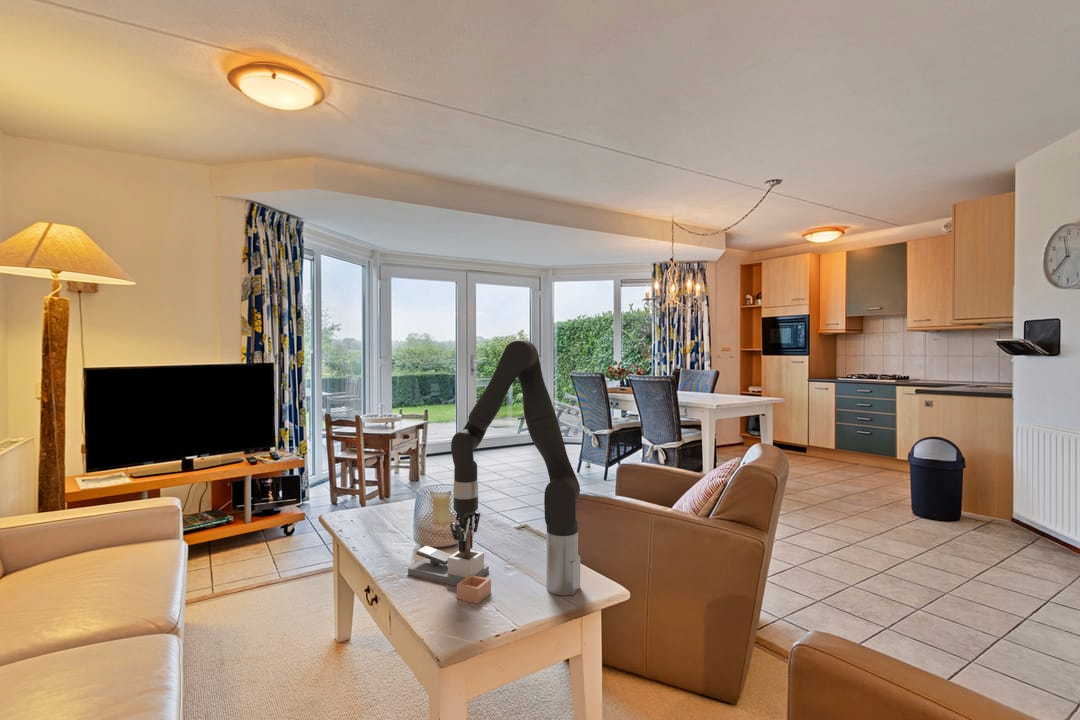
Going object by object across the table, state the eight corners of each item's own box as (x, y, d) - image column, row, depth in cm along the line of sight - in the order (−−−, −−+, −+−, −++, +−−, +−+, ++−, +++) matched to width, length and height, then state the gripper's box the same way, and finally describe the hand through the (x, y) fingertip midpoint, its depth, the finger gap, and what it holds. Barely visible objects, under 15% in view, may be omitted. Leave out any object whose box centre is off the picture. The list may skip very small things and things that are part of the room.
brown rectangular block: (472, 563, 162) (472, 528, 162) (467, 567, 159) (466, 531, 159) (464, 562, 163) (464, 527, 163) (458, 565, 161) (458, 530, 160)
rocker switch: (454, 559, 166) (454, 555, 166) (444, 565, 162) (445, 561, 161) (426, 548, 171) (426, 545, 170) (416, 554, 166) (416, 550, 166)
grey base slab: (488, 572, 165) (488, 550, 165) (467, 588, 154) (467, 564, 154) (431, 560, 174) (431, 539, 174) (408, 574, 163) (407, 552, 163)
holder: (490, 592, 151) (490, 579, 151) (478, 603, 145) (478, 589, 145) (470, 588, 154) (470, 574, 154) (456, 598, 148) (456, 584, 148)
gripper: (463, 502, 153) (463, 560, 153) (488, 490, 165) (487, 544, 166) (442, 499, 156) (442, 556, 156) (467, 487, 169) (467, 540, 169)
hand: (465, 549), depth 161 cm, fingers closed on brown rectangular block, 3 cm apart
